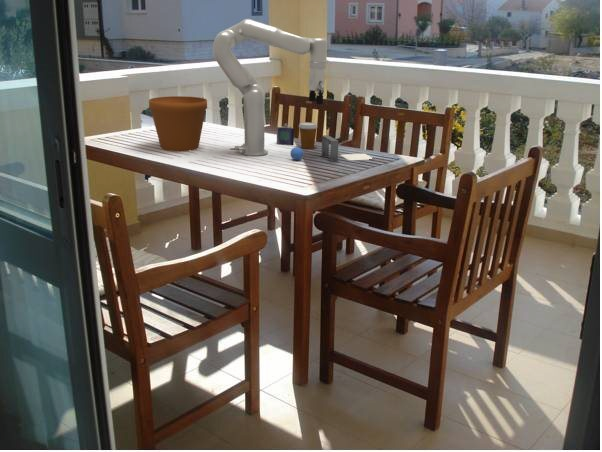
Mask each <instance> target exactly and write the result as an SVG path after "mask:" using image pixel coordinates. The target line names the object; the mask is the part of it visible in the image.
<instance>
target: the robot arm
mask: <svg viewBox="0 0 602 452" xmlns="http://www.w3.org/2000/svg"><path fill="white" fill-rule="evenodd" d="M248 40H251V41H254V42H258V43H261V44H264V45H266V46H270V47H274V48H279V49H281V50H285V51H288V52H290V53H294V54H297V55H302V56H303V55H306V54H309V67H308V68H309V72H308V81H307V82H308V83H307V88H308V89H309V90H308V93H309V94H308V101H309V102H315V104H316V105H323V104H324V92H325V70H326V66H327V64H326V63H327V47H328V46H327V44H328V43H327V42H328V41H327V39H326V38H322V37H320V38H319V37H313V38H310V37H305V36H299V35H296V34H293V33H289V32H287V31H284V30H282V29H280V28H279V27H276V26H273V25H269V24H267V23H263V22H260V21H257V20H254V19H251V18H245V19H243V20H241V21H240V22H238V23H236V24H234V25H232V26H230V27H228V28H226V29H224V30H222V31H220V32H218V33H217V35H216V36H215V38H214V41H213V43H212V44H213V45H212V53H213V57H214V59H215V61H216V62H217V65H218V66H219V67H220V68H221V70H222V72H223V73H224V74H225V75H226V77H227V78H228V79H229V81H230V83H231V84H232V85H233V86H234V87H235V88H237V89H238V91H239V92H240V93H241V95H243V113H244V114H243V116H244V118H243V119H244V120H243V121H244V123H243V124H244V125H243V127H244V132H243V133H244V143H242V144H241V145H234V151H240V152H241V154H242V156H243V155H244V156H249V157H261V156H265V155H267V154H268V150H266V149H265V100H266V93H265V90H264V88H263V87H262V86H261V84H260V83H259V82H258V80H257V79H256V78H255V76H254V75H253V74H252V72H251V71H250V70H249V69H248V68H246V67H245V66H243V65H242V64H241V63H240V60H238V58H237V57H236V56H235V54H234V53H233V51H232V48H233V47H235V46H237V45H240V44H241V43H243V42H246V41H248Z"/></svg>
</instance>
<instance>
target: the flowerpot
mask: <svg viewBox="0 0 602 452" xmlns="http://www.w3.org/2000/svg"><path fill="white" fill-rule="evenodd" d="M148 107H149V108H148V109H149V110H150V112H151V115H152V119H153V124H154V126H155V130H156V134H157V138H158V142H159V146H160V149H161V150H163V151H167V152H189V150H191V151H194V149H195V150H198V149H199V146H200V140H201V135H202V133H203V132H202V130H203V125H204V121H205V115H206V110H208V100H207V99H206V98H204V97H199V96H198V97H196V96H185V95H184V96H181V95H179V96H178V95H177V96H173V95H172V96H160V97H153V98H150V99H148ZM197 148H198V149H197Z"/></svg>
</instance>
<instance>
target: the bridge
mask: <svg viewBox="0 0 602 452" xmlns="http://www.w3.org/2000/svg"><path fill="white" fill-rule="evenodd" d="M329 150H330V151H329ZM320 151H321V156H322V157H330V158H329V159H330V160H329V161H330V162H331V163H338V161H339V140H338V139H335V138H334V137H332V136H330V135H328V134H324V135H321V150H320Z"/></svg>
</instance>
